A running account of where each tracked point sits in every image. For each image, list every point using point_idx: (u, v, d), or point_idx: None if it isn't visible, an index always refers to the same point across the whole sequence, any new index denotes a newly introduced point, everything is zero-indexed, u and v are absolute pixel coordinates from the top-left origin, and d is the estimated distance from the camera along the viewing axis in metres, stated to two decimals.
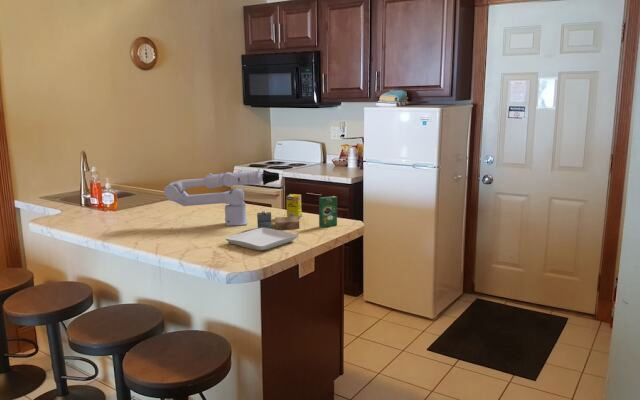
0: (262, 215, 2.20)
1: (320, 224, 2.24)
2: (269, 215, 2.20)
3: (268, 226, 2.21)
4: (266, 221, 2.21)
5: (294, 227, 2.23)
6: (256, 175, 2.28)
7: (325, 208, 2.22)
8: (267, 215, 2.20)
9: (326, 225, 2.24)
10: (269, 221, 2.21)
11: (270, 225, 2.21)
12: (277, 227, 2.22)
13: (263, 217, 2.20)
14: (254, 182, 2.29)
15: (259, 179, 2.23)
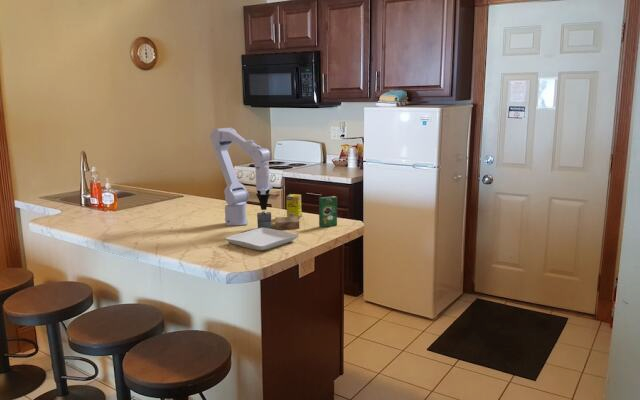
0: (262, 215, 2.20)
1: (320, 224, 2.24)
2: (269, 215, 2.21)
3: (268, 226, 2.21)
4: (266, 221, 2.21)
5: (294, 227, 2.23)
6: (265, 186, 2.17)
7: (325, 208, 2.22)
8: (267, 215, 2.20)
9: (326, 225, 2.24)
10: (269, 221, 2.21)
11: (270, 225, 2.21)
12: (277, 227, 2.22)
13: (263, 217, 2.20)
14: (258, 183, 2.17)
15: (263, 191, 2.13)
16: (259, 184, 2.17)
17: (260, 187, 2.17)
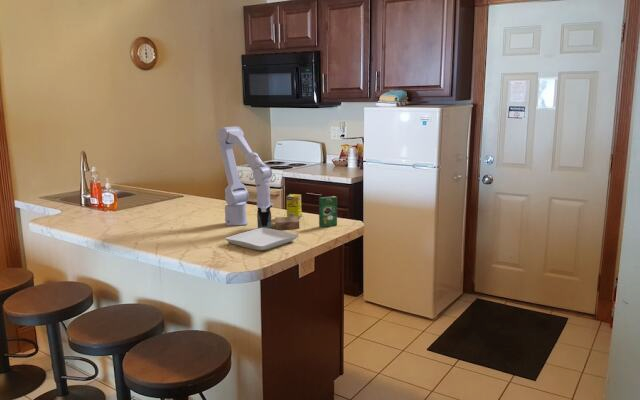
0: None
1: (320, 224, 2.24)
2: (269, 215, 2.20)
3: (268, 226, 2.21)
4: None
5: (294, 227, 2.23)
6: (266, 203, 2.19)
7: (325, 208, 2.22)
8: None
9: (326, 225, 2.24)
10: (269, 221, 2.21)
11: (270, 225, 2.21)
12: (277, 227, 2.22)
13: None
14: (259, 200, 2.19)
15: (263, 209, 2.14)
16: (260, 201, 2.18)
17: (261, 204, 2.19)
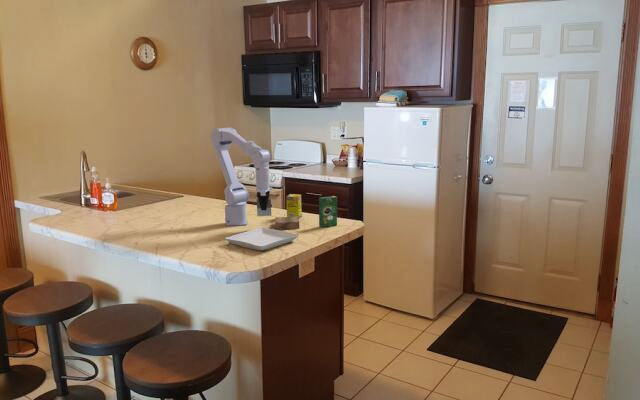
0: None
1: (320, 224, 2.24)
2: (269, 201, 2.19)
3: (268, 212, 2.20)
4: None
5: (294, 227, 2.23)
6: (266, 187, 2.17)
7: (325, 208, 2.22)
8: None
9: (326, 225, 2.24)
10: (269, 207, 2.20)
11: (270, 211, 2.20)
12: (277, 227, 2.22)
13: None
14: (258, 184, 2.17)
15: (263, 192, 2.13)
16: (259, 185, 2.17)
17: (260, 188, 2.17)
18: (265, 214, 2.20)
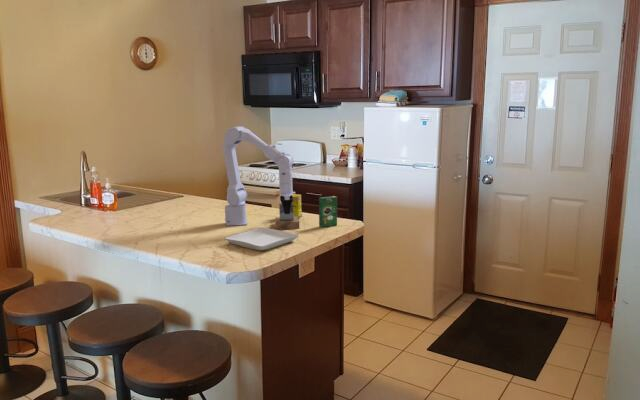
0: None
1: (320, 224, 2.24)
2: (291, 206, 2.24)
3: (290, 216, 2.25)
4: None
5: (294, 227, 2.23)
6: (289, 191, 2.22)
7: (325, 208, 2.22)
8: None
9: (326, 225, 2.24)
10: (291, 212, 2.24)
11: (292, 215, 2.25)
12: (277, 227, 2.22)
13: None
14: (282, 189, 2.22)
15: (287, 197, 2.17)
16: (283, 190, 2.22)
17: (284, 193, 2.22)
18: (287, 219, 2.25)
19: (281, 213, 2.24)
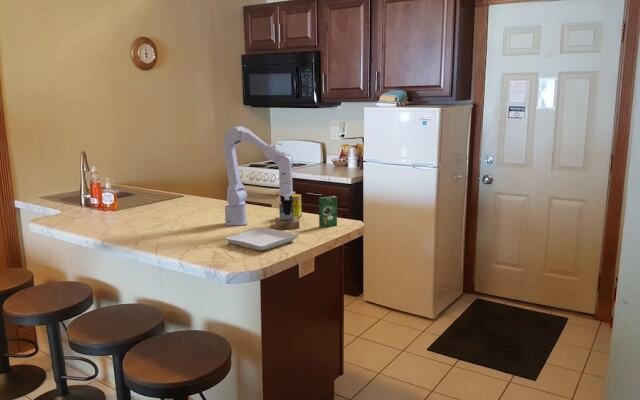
0: None
1: (320, 224, 2.24)
2: (291, 206, 2.24)
3: (290, 216, 2.25)
4: None
5: (294, 227, 2.23)
6: (289, 191, 2.22)
7: (325, 208, 2.22)
8: None
9: (326, 225, 2.24)
10: (291, 212, 2.24)
11: (292, 215, 2.25)
12: (277, 227, 2.22)
13: None
14: (282, 189, 2.22)
15: (287, 197, 2.17)
16: (283, 190, 2.22)
17: (284, 193, 2.22)
18: (287, 219, 2.25)
19: (281, 213, 2.24)
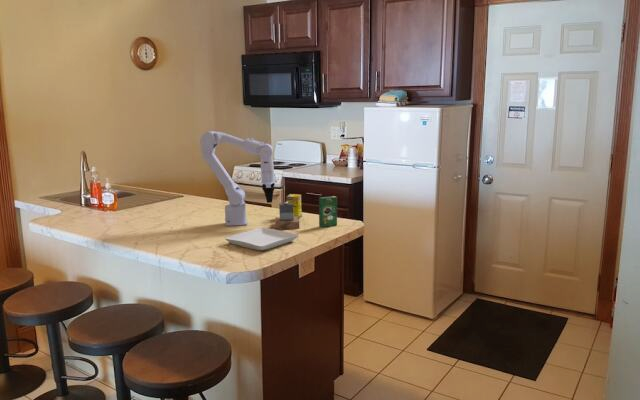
0: (284, 206, 2.24)
1: (320, 224, 2.24)
2: (291, 206, 2.24)
3: (290, 216, 2.25)
4: (288, 211, 2.24)
5: (294, 227, 2.23)
6: (271, 179, 2.27)
7: (325, 208, 2.22)
8: (289, 206, 2.24)
9: (326, 225, 2.24)
10: (291, 212, 2.24)
11: (292, 215, 2.25)
12: (277, 227, 2.22)
13: (285, 208, 2.24)
14: (263, 177, 2.27)
15: (268, 184, 2.23)
16: (264, 178, 2.27)
17: (265, 181, 2.27)
18: (287, 219, 2.25)
19: (281, 213, 2.24)
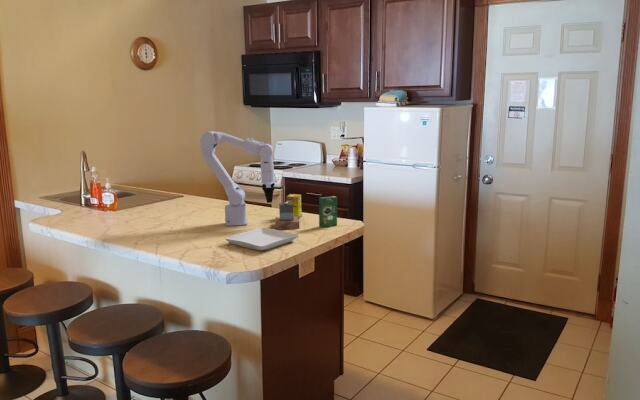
0: (284, 206, 2.24)
1: (320, 224, 2.24)
2: (291, 206, 2.24)
3: (290, 216, 2.25)
4: (288, 211, 2.24)
5: (294, 227, 2.23)
6: (271, 179, 2.27)
7: (325, 208, 2.22)
8: (289, 206, 2.24)
9: (326, 225, 2.24)
10: (291, 212, 2.24)
11: (292, 215, 2.25)
12: (277, 227, 2.22)
13: (285, 208, 2.24)
14: (263, 177, 2.27)
15: (268, 184, 2.23)
16: (264, 178, 2.27)
17: (265, 181, 2.27)
18: (287, 219, 2.25)
19: (281, 213, 2.24)
